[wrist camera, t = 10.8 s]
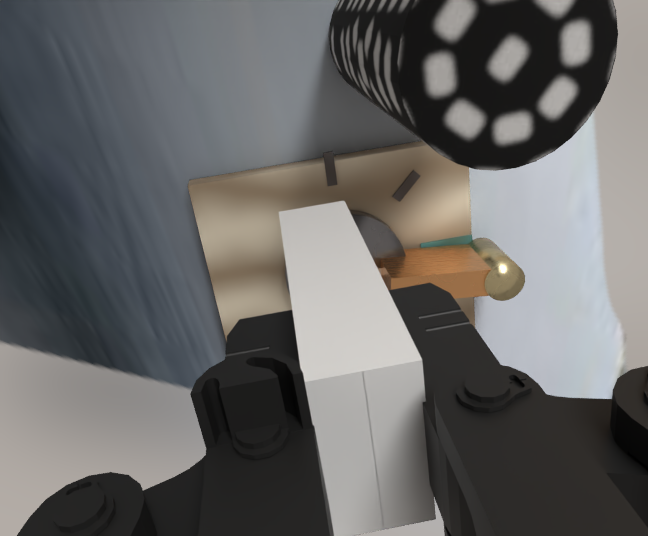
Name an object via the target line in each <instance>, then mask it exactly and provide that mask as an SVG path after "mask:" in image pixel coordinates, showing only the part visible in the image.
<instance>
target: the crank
mask: <svg viewBox="0 0 648 536" xmlns="http://www.w3.org/2000/svg"><path fill="white" fill-rule="evenodd" d="M349 211H350V213H351V215H352V217H353V219H354V221H355V223H356V225H357V227H358V230H359V232H360V234H361V236H362V238H363V240H364V242H365V244H366V246H367V248H368V250H369V252H370V254H371V256H372V258H373V260H374V262H375V264H376V266H377V268H378V270H379V272H380V275H381V277H382V279H383V281H384V283H385V285H386V287H387V289H388V290H392V289H398V288H403V287H409V286H414V285H420V284H425V283H432V284H434V285H436V286H438V287H440V288H442V289H443V290H445V291H447V292H449V293H451V295H452V296H453V298H454V299H457V298H468V297H478V296H490V297H492V298H493V299H495V300H500V301H504V300H509V299H511V298H513V297H515V296H516V295H517V294H518V293H519V292H520V291H521V290H522V288H523V286H524V283H525V275H524V272H523V271H522V269H521V268H520V267H519V266H518V265H517V264H516V263H515V262H513V261H512V260H511V259H510V258H509V257H508V256H507V255H506V254H505V253H504V252H503V251H502V250H501V249H500V248H499V247H498V246H497V245H496V244H495V243H494V242H493V241H491V240H490V239H487V238H477V239H474V240H472V241H471V242H469V243H468V244H460V245H448V246H436V247H425V248H413V249H403V246H402V244H401V243H400V241H399V239H398V238H397V236H396V234H395V233H394V232H393V230H392V229H391V228H390V227H389V226H388V225H387V224H386V223H385V222H384V221H382V220H381V219H379V218H378V217H376V216H374V215H372V214H369V213H367V212H363V211H359V210H349ZM285 277H286V284H287V289H288V292H289V294H290V290H289V283H288V276H287V268H286V261H285Z"/></svg>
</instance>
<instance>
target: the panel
mask: <svg viewBox="0 0 648 536" xmlns="http://www.w3.org/2000/svg"><path fill="white" fill-rule="evenodd" d="M188 189H189V193H190V197H191V201H192V206H193V210H194V214H195V218H196V222H197V226H198V230H199V234H200V238H201V242H202V246H203V250H204V254H205V258H206V262H207V266H208V270H209V274H210V278H211V282H212V286H213V290H214V294H215V298H216V302H217V306H218V310H219V314H220V318H221V322H222V326H223V330H224V334H225V338H226V342H227V335H228V334H229V333H230V331H231V330H232V329H233V327H234V326H235V325H236V323H237V322H238V320H239V319H244V318H249V317H255V316H260V315H266V314H271V313H277V312H282V311H288V310H292V304H291V297H290V294H289V292H288V289H287V284H286V277H285V254H284V247H283V240H282V233H281V226H280V218H279V212H281V211H287V210H292V209H298V208H304V207H310V206H315V205H321V204H327V203H333V202H338V201H345V203H346V205H347V207H348V209H349V210H359V211H363V212H367V213H369V214H372V215H374V216H376V217H378V218H379V219H381V220H382V221H384V222H385V223H386V224H387V225H388V226H389V227H390V228H391V229H392V230H393V232H394V233H395V234H396V236H397V238H398V239H399V241H400V243H401V244H402V246H403V249H413V248H425V247H436V246H448V245H460V244H468V243H469V242H471V241H472V235H471V211H470V185H469V167H466V166H463V165H459V164H456V163H455V162H453V161H451V160H449V159H447V158H445V157H443V156H441V155H440V154H438V153H437V152H436V151H435V150H433V149H432V148H431V147H429V146H428V145H427V144H426V143H424V142H423V141H418V142H412V143H406V144H400V145H394V146H388V147H382V148H376V149H370V150H364V151H359V152H353V153H347V154H341V155H335V156H334V155H333V151H331V152H325V153H323V158H317V159H311V160H305V161H300V162H294V163H288V164H282V165H276V166H270V167H264V168H258V169H252V170H246V171H241V172H235V173H229V174H223V175H217V176H211V177H205V178H199V179H193V180H190V181H189V183H188ZM455 301H456V302H457V303H458V305H459V306H460V308H461V311H463V312H464V313H465V315H466V316H467V318H468V319H469V321H470V324H471V323H472V325H473V326H474V328H475V315H474V297H468V298H457V299H455Z"/></svg>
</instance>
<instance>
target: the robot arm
mask: <svg viewBox="0 0 648 536" xmlns="http://www.w3.org/2000/svg"><path fill="white" fill-rule="evenodd" d="M279 218H280V226H281V233H282V240H283V247H284V254H285V261H286V268H287V276H288V283H289V290H290V297H291V304H292V310H288V311H282V312H277V313H271V314H266V315H260V316H255V317H249V318H244V319H239V320H238V322H237V323H236V325H235V326H234V327H233V329H232V330H231V331H230V333H229V334H228V335H227V342H226V357H225V360H224V361H222V362H220V363H218V364H216V365H214V366H213V367H211V368H209V369H208V370H207V371H206V372H205V373H204V374H203V375H202V376H201V377H200V378H198V379H197V380H196V383H195V385H194V387H193V389H192V391H191V398H192V401H193V405H194V408H195V411H196V414H197V418H198V422H199V425H200V428H201V432H202V435H203V439H204V442H205V445H206V455H205V456H204V457H203V458H202V460H200V461H199V462H198V463H196V464H195V465H194V466H192V467H191V468H190V469H188V470H186V471H185V472H183V473H181V474H179V475H177V476H175V477H173V478H171V479H169V480H166V481H164V482H162V483H160V484H157V485H155V486H153V487H151V488H148V489H146V490H144V491H143V490H142V487H141V485H140V484H139V483H138V482H137V481H135V480H134V479H133V478H131V477H130V476H129V475H124V474H118V473H112V472H110V473H103V474H97V475H91V476H88V477H85V478H83V479H80V480H78V481H76V482H73V483H71V484H68V485H66V486H65V487H63V488H62V489H61V490H59V491H58V492H56V493H55V494H53V495H52V496H50V497H49V498H47V499H46V500H45V501H44V502H43V503H42V504H41V505H40V507H39V508H38V509H37V510H36V511H35V512H34V513H33V514H32V515H31V516H30V518H29V519H28V520H27V522H26V523H25V525H24V526H23V528H22V529H21V530H20V532H19V533H18V535H17V536H354V535H359V534H364V533H369V532H374V531H379V530H384V529H389V528H394V527H399V526H404V525H409V524H414V523H419V522H424V521H429V520H434V519H436V516H435V504H434V497H435V500H436V503H437V505H438V508H439V510H440V513H441V516H442V518H443V521H444V532H445V536H648V366H646V367H641V368H637V369H632V370H630V371H628V372H627V373H625V374H624V375H622V376H621V377H619V378H618V379H617V382H616V384H615V386H614V389H613V396H612V399H587V398H567V397H557V396H551V395H547V394H546V393H545V392H544V391H543V390H542V388H541V387H540V386H539V384H538V383H536V382H535V381H534V380H533V379H532V378H531V377H529V376H528V375H527V374H526V373H523V372H521V371H518V370H516V369H514V368H511V367H509V366H502V365H500V363H499V362H498V360H497V359H496V358H495V356H494V355H493V353H492V352H491V350H490V349H489V348H488V346H487V345H486V343H485V342H484V340H483V339H482V338H481V336H480V335H479V333H478V332H477V330H476V329H475V328H474V326H473V325H472V323H471V324H470V321H469V319H468V318H467V316H466V315H465V313H464V312H463V311H461V308H460V306H459V305H458V303H457V302H456V301H455V299H454V298H453V296H452V295H451V293H449V292H447V291H445V290H443V289H442V288H440V287H438V286H436V285H434V284H432V283H425V284H420V285H414V286H409V287H403V288H398V289H392V290H388V289H387V287H386V285H385V283H384V281H383V279H382V277H381V275H380V272H379V270H378V268H377V266H376V264H375V262H374V260H373V258H372V256H371V254H370V252H369V250H368V248H367V246H366V244H365V242H364V240H363V238H362V236H361V234H360V232H359V230H358V227H357V225H356V223H355V221H354V219H353V217H352V215H351V213H350V211H349V209H348V207H347V205H346V203H345V201H338V202H333V203H327V204H321V205H315V206H310V207H304V208H298V209H292V210H287V211H281V212H279Z"/></svg>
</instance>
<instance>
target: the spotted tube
mask: <svg viewBox="0 0 648 536" xmlns="http://www.w3.org/2000/svg"><path fill="white" fill-rule="evenodd" d="M617 37H618V30H617V18H616V9H615V6H614V3H613V0H339V1H338V3H337V5H336V7H335V9H334V12H333V15H332V19H331V23H330V32H329V40H330V50H331V53H332V57H333V60H334V63H335V65H336V67H337V69H338V71H339V73H340V74H341V75H342V77H343V78H344V79H345V80H346V82H347V83H349V84H350V85H351V86H352V87H353V88H354V89H356V90H357V91H358V92H359V93H361V94H362V95H363V96H365V97H366V98H367V99H369V100H370V101H371V102H372V103H374V104H375V105H376V106H378V107H379V108H380V109H381V110H383V111H384V112H385V113H387V114H388V115H389V116H391V117H392V118H393V119H394V120H396V121H397V122H398V123H400V124H401V125H402V126H404V127H405V128H406V129H407V130H409V131H410V132H411V133H413V134H414V135H415V136H416V137H418V138H419V139H420V140H422V141H423V142H424V143H426V144H427V145H428V146H429V147H431V148H432V149H433V150H435V151H436V152H437V153H438V154H440V155H441V156H443V157H445V158H447V159H449V160H451V161H453V162H455V163H456V164H459V165H463V166H466V167H470V168H473V169H479V170H495V171H496V170H504V169H511V168H517V167H520V166H523V165H526V164H529V163H532V162H535V161H537V160H539V159H541V158H542V157H544V156H546V155H548V154H550V153H552V152H553V151H555V150H556V149H557V148H559V147H560V146H561V145H563V144H564V143H565V142H566V141H568V140H569V139H570V138H571V137H572V136H573V135H574V134H575V133H576V132H577V131H578V130H579V129H580V128H581V127H582V126H583V124H584V123H585V122H586V121H587V120H588V118H589V117H590V115H591V114H592V112H593V111H594V109H595V108H596V106H597V105H598V103H599V102H600V100H601V97H602V95H603V93H604V91H605V88H606V86H607V84H608V82H609V79H610V76H611V72H612V69H613V65H614V61H615V57H616V48H617Z"/></svg>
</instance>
